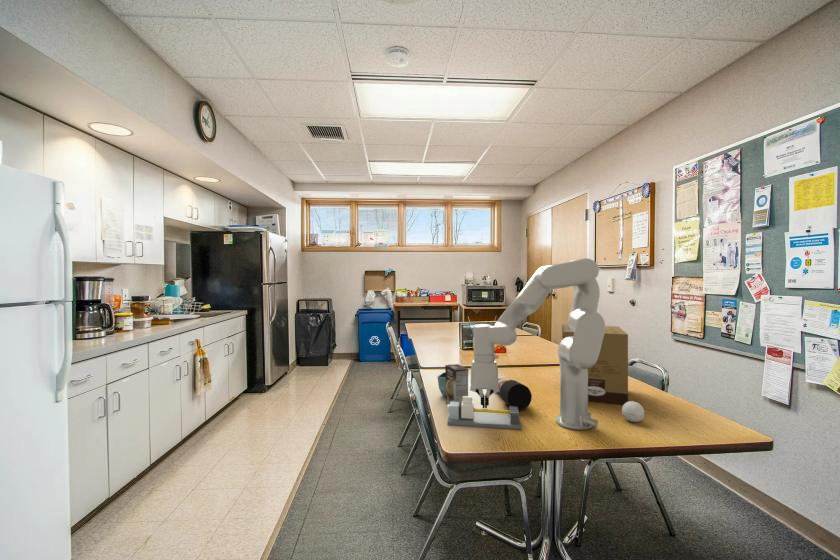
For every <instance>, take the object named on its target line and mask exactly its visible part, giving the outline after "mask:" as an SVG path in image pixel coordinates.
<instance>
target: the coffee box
mask: <svg viewBox="0 0 840 560" xmlns="http://www.w3.org/2000/svg"><path fill="white" fill-rule="evenodd" d="M444 365H445V364H444ZM444 372H445V376H446V396H445V403H446V404H447V405H448V404H450V401H452V402H459V403H460V404H462V401H463V396H468V397H469V368H468V367H467V368H466V367H465V366H462V365H460V364H459V363H456V364H446V365H445V371H444Z"/></svg>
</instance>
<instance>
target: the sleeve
mask: <svg viewBox="0 0 840 560" xmlns="http://www.w3.org/2000/svg"><path fill="white" fill-rule="evenodd" d="M474 406H475V403H474V400H473V396H469V395H468V396H463V401H462V404H461V418H468V419H473V417H474V413H475V412H473V408H475V407H474Z"/></svg>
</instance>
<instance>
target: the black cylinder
mask: <svg viewBox="0 0 840 560" xmlns="http://www.w3.org/2000/svg"><path fill="white" fill-rule="evenodd" d="M498 387H499V392H497V393H498V394H499V396H500V398H501V400H502V401H503V402H504V403H506V404H507V405H509V406H510V407H518V411H519V410H521V411H522V410H525V409H526V408H528V407H529V406H530V404H531V402H532V398H533V395H532V392H531V390H530V388H529V387H528V386H526V385H525V384H523V383H521V382H519V381H517V380H514V379H508V380H506V379H504V378H501V377H498Z"/></svg>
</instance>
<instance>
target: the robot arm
mask: <svg viewBox="0 0 840 560" xmlns="http://www.w3.org/2000/svg"><path fill="white" fill-rule="evenodd" d="M599 273H600V268H599V265H598V264H597V262H596V261H595V260H593V259H591V258H587V257H586V258H577V259H571V260H570V261H568V262H567V261H566V262H561V263H556V264H548V265H542V266H540V267H539V268H537V269H536V271H535V272H534V273H533V275H532V276H531V277H530V279H528V281H527V283H526V284H525V286H524V287H523V288H522V289H521V291H520V292H519V294H518V295H517V296H516V298H514V299H513V300H512V302H511V303H510V304H509V305H508V307H506V309H504V311H503V312H502V314H501V315H500V317H498V319H497V321H496V322H495V324H494V325H492V324H487V323H480V324H476V325H474V326H473V360H472V361H471V364H470V365H471V366H470V367H471V368H470V387H469V390H470V392H474V393H476V394H477V395H478V396H479V398H480V406H482V409H488V406H489V405H490V403H489V402H490V401H489V399H490V397H491V395H493V394H495V393H498V392H499V387H498V378H499V371H498V370H499V369H498V362H497V361H496V360H497V359H498V360H499V355H498V354H496V353H495V345H498V346H503V347H504V346H507V347H508V346H511V345H513V344H514V343H515V342H516V340H517V337H518V335H517V331H516V329H517V327H518V326H519V324H520V323H521V322H522V321H523V320H524V319H525V318H527V317H529V316H530V315H532V314H534V313H535V312H536V311H538V310H539V308H540V307H541V306H542V304H543V303H544V301H545V299H546V298H548V296H549V294H550V293H551V292H552V290H557V289H565V288H570V287H573V299H572V303H571V305H570V306H571V307H570V311H569V314H568V318H567V325H568V326H569V328H570V329H571V330H572V331H573V332H574V336H570V337H566V338H564V339H563V340H562V339H561V341H560V342H559V344H558V350H557V354H558V361H559V362H558V363H559V415H556V416H555V422H556V423H557V425H559V426H561V427H563V428H566V429H570V430H575V431H582V430H585V431H586V430H590V429H591V428H593V427H594V428H597V427H598V426H599V423H598V422H599V419H596V418H592V412H589V402H588V369H589V368H591V367H592V366H593V365H594V364H595V363H596V361H597V359H598V357H599V353H600V349H601V345H602V341H603V337H604V333H605V326H606V323H605V319H604V317H603V316H602V315H601V313H599V312H598V311H597V310H598V306H599V302H600V297H601V296H600V292H601V291H600V286H599V283H598V280H597V277H598V276H599ZM483 390H486V393H485V394H484V391H483Z"/></svg>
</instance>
